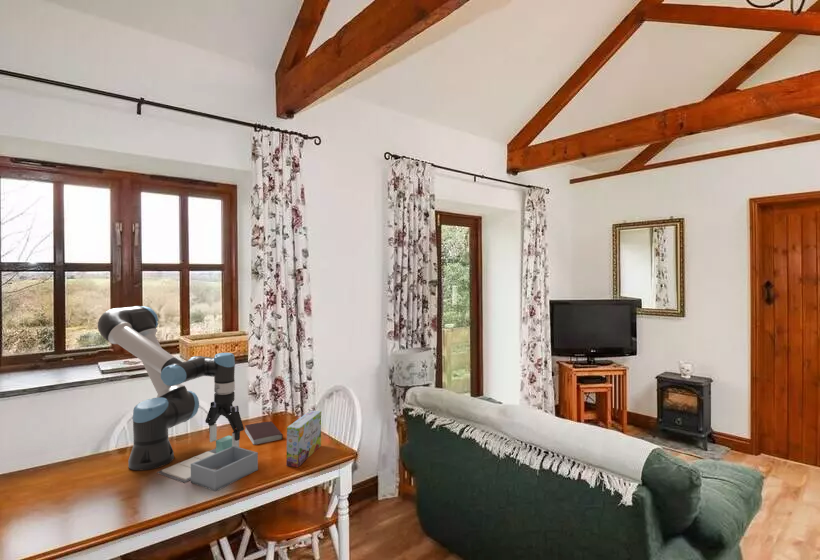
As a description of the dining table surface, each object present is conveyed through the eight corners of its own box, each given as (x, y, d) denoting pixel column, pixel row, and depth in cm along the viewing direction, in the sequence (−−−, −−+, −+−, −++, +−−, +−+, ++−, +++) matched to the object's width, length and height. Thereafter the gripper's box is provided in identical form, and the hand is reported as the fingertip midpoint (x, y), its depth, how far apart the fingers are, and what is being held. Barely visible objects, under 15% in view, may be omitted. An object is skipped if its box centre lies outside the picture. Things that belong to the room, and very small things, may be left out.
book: (272, 427, 208) (271, 420, 208) (283, 440, 192) (282, 432, 191) (244, 432, 202) (244, 425, 202) (253, 446, 185) (253, 438, 185)
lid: (161, 471, 160) (161, 455, 160) (220, 447, 182) (220, 433, 182) (185, 480, 153) (185, 463, 153) (243, 454, 175) (243, 439, 175)
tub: (190, 482, 152) (190, 463, 152) (234, 462, 168) (233, 445, 168) (215, 491, 146) (215, 472, 146) (257, 469, 162) (257, 452, 162)
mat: (156, 473, 160) (156, 472, 160) (218, 447, 182) (218, 447, 182) (184, 483, 152) (184, 482, 152) (245, 455, 175) (245, 454, 175)
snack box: (299, 468, 164) (299, 428, 163) (285, 466, 165) (285, 426, 164) (322, 445, 184) (321, 410, 184) (309, 444, 185) (309, 409, 185)
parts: (201, 478, 154) (200, 472, 154) (233, 463, 166) (233, 458, 166) (218, 484, 149) (218, 478, 149) (250, 468, 161) (250, 463, 161)
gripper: (196, 389, 178) (195, 441, 179) (237, 399, 166) (237, 454, 167) (212, 385, 185) (212, 435, 185) (253, 394, 173) (253, 447, 173)
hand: (224, 444), depth 176 cm, fingers open, 13 cm apart
